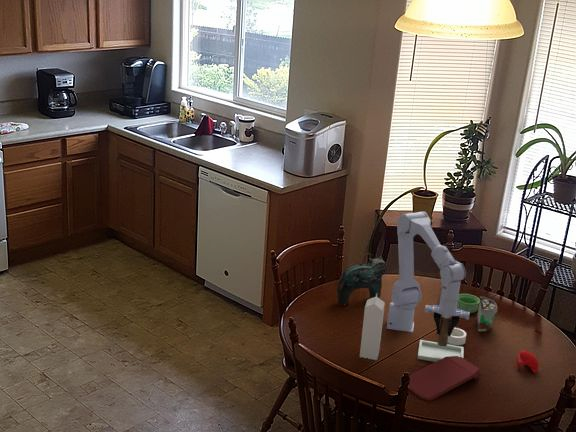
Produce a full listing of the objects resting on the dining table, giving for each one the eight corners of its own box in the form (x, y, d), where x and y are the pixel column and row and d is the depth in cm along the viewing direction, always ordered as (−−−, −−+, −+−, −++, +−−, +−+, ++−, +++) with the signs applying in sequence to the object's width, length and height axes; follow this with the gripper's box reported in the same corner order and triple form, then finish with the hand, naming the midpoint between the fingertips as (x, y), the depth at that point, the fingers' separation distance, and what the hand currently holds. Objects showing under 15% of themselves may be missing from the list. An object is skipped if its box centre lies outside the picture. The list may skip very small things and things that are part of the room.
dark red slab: (425, 412, 216) (483, 381, 228) (425, 399, 214) (483, 368, 226) (399, 392, 226) (456, 363, 238) (399, 380, 224) (456, 351, 236)
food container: (495, 337, 256) (499, 312, 253) (477, 334, 257) (482, 310, 254) (492, 321, 268) (497, 297, 264) (476, 319, 269) (480, 295, 265)
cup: (444, 344, 249) (445, 335, 248) (444, 334, 256) (446, 326, 254) (464, 347, 247) (466, 339, 246) (464, 338, 254) (466, 329, 253)
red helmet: (510, 358, 236) (525, 357, 231) (518, 347, 239) (533, 346, 235) (522, 377, 237) (537, 376, 232) (530, 366, 241) (544, 365, 236)
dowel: (437, 345, 239) (440, 319, 235) (437, 340, 242) (441, 314, 238) (446, 347, 238) (450, 320, 235) (447, 342, 241) (451, 316, 238)
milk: (359, 357, 237) (365, 298, 230) (362, 348, 243) (367, 290, 235) (377, 360, 236) (383, 301, 229) (379, 351, 242) (386, 293, 234)
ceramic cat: (377, 294, 284) (382, 248, 277) (386, 301, 278) (391, 255, 272) (334, 301, 276) (338, 254, 269) (341, 308, 270) (346, 260, 264)
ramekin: (481, 307, 278) (483, 297, 277) (474, 316, 271) (475, 306, 270) (459, 301, 283) (461, 291, 281) (451, 309, 275) (453, 299, 274)
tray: (417, 359, 238) (417, 355, 237) (419, 344, 248) (420, 339, 247) (462, 367, 235) (463, 363, 234) (462, 351, 245) (463, 347, 244)
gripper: (426, 299, 232) (421, 335, 236) (471, 306, 229) (465, 343, 233) (427, 290, 238) (422, 326, 243) (471, 297, 235) (465, 333, 240)
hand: (443, 334), depth 239 cm, fingers closed on dowel, 3 cm apart
